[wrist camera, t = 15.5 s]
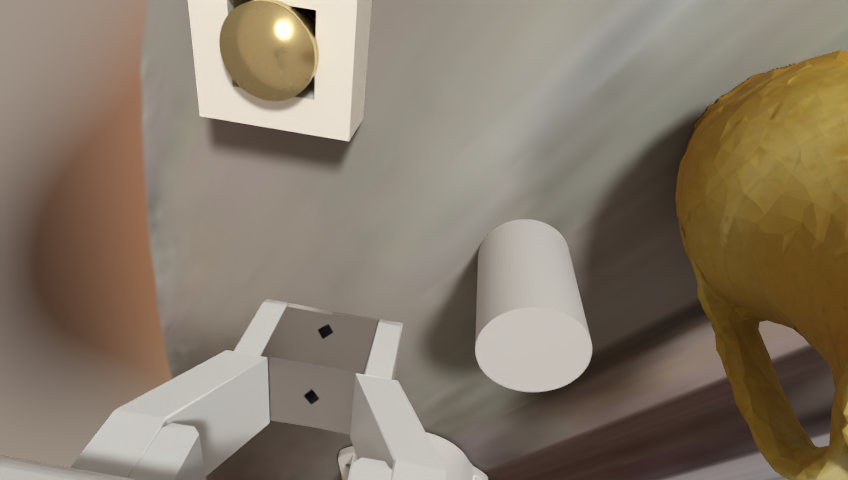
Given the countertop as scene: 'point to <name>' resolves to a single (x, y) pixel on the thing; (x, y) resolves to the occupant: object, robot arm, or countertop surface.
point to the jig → (316, 104)
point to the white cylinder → (529, 309)
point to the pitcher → (775, 244)
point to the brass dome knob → (270, 48)
